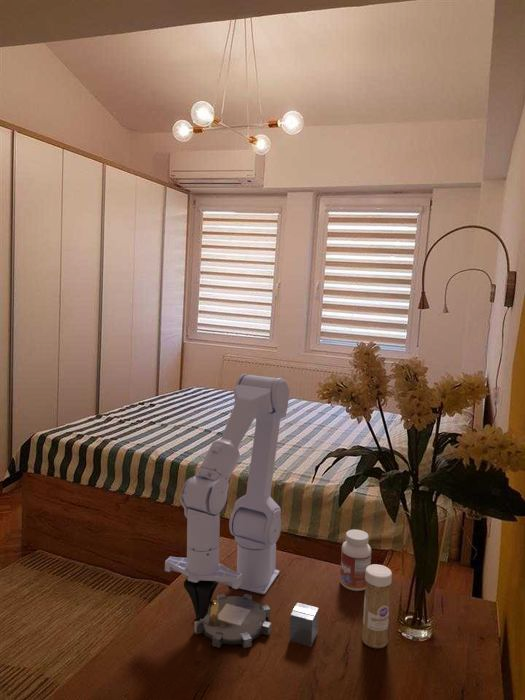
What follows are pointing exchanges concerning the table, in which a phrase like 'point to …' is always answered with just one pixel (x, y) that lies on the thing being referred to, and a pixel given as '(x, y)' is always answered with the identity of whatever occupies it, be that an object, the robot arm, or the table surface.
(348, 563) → the pill bottle
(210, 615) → the sprocket
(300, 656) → the table surface
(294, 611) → the grooved silver cube
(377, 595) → the sprinkles bottle
